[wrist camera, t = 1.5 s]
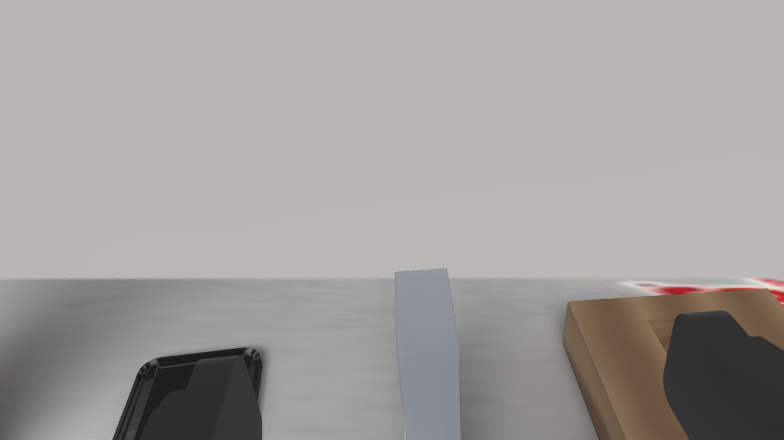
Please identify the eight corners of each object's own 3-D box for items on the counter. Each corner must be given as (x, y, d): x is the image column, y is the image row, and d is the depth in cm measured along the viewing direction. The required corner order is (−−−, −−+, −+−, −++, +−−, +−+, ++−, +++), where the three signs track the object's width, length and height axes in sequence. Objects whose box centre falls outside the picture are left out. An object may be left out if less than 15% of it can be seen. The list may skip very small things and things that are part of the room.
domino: (411, 510, 27) (396, 352, 22) (408, 424, 32) (393, 272, 26) (462, 507, 27) (460, 347, 21) (451, 422, 32) (447, 268, 26)
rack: (670, 629, 22) (688, 587, 21) (562, 342, 36) (568, 301, 34) (975, 614, 22) (1022, 570, 20) (751, 330, 36) (767, 288, 34)
